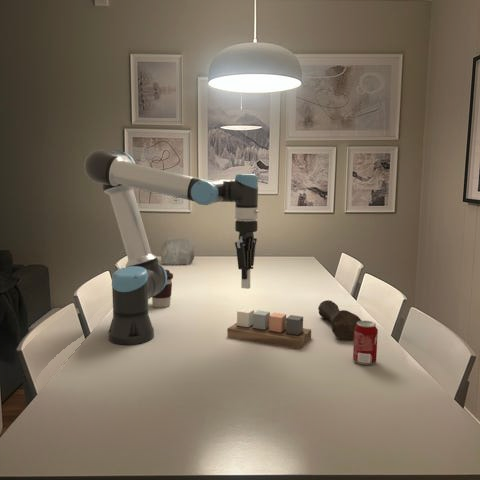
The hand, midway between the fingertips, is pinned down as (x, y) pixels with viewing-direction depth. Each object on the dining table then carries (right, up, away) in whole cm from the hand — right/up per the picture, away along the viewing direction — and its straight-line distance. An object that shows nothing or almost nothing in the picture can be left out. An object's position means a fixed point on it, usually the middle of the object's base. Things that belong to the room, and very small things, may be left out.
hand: (245, 287), depth 169 cm
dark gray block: (+16, -14, -6) cm, 22 cm away
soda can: (+35, -20, -22) cm, 46 cm away
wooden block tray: (+8, -17, -1) cm, 19 cm away
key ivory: (0, -13, +2) cm, 13 cm away
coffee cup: (-35, -11, +36) cm, 52 cm away
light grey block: (+5, -13, -1) cm, 14 cm away
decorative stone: (-40, +2, +126) cm, 132 cm away
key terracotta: (+11, -14, -3) cm, 18 cm away
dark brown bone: (+33, -16, +8) cm, 37 cm away
